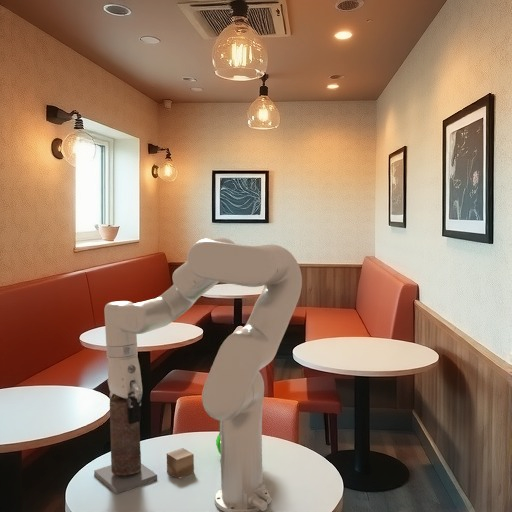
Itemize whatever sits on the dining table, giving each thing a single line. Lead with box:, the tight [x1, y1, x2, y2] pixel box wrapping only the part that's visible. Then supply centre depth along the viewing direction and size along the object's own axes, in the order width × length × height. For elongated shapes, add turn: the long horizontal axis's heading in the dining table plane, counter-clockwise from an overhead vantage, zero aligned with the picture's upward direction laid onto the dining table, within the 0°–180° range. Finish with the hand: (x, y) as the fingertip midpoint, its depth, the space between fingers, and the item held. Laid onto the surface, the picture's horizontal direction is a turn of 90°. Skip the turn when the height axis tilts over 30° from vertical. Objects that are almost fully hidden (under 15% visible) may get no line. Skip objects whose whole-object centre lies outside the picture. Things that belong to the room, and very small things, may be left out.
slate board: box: [93, 463, 158, 495], centre depth 133 cm, size 13×11×1 cm
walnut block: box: [166, 447, 195, 479], centre depth 136 cm, size 5×5×5 cm
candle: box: [109, 393, 142, 476], centre depth 133 cm, size 8×7×20 cm
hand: (125, 417), depth 132 cm, fingers open, 9 cm apart
